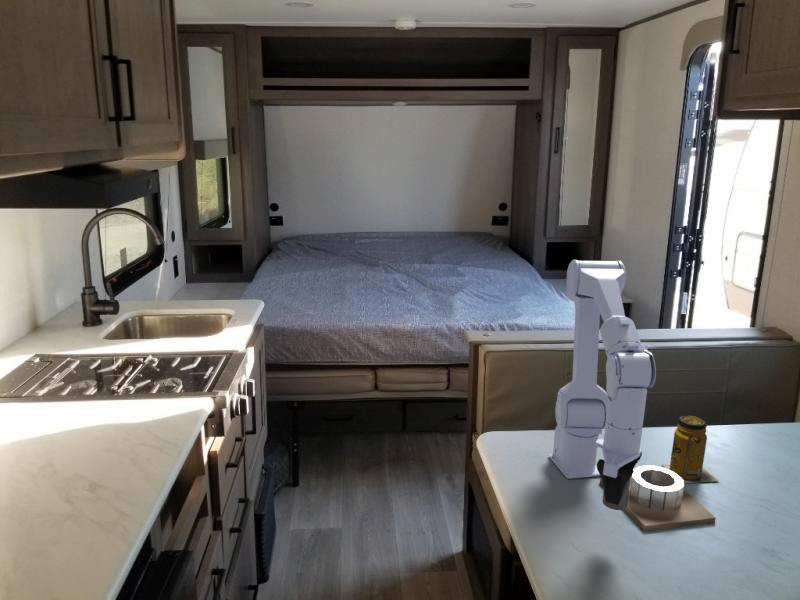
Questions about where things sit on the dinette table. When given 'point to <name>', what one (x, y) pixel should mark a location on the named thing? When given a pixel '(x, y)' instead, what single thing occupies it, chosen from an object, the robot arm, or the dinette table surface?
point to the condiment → (690, 451)
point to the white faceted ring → (656, 488)
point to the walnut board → (669, 514)
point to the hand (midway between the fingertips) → (615, 495)
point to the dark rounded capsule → (623, 501)
